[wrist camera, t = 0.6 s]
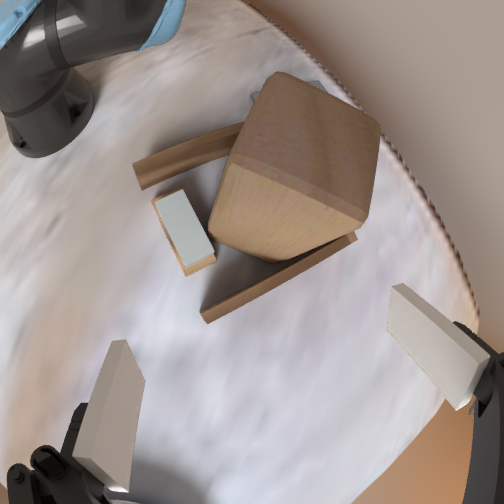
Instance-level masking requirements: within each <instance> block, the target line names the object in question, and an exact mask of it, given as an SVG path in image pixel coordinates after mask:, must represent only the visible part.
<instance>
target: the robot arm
mask: <svg viewBox="0 0 504 504" xmlns="http://www.w3.org/2000/svg"><path fill="white" fill-rule="evenodd" d="M185 5H186V0H4V1H2V2H1V3H0V110H1V112H2V113H3V115H4V118H5V122H6V126H7V130H8V134H9V138H10V140H11V142H12V144H13V146H14V147H15V148H16V149H17V150H18V151H19V152H20V153H21V154H22V155H24V156H26V157H30V158H40V157H45V156H48V155H50V154H53V153H55V152H57V151H59V150H60V149H62V148H63V147H65V146H66V145H68V144H69V143H70V142H71V141H72V140H74V139H75V138H76V137H77V136H78V134H79V133H80V132H81V131H82V130H83V128H84V127H85V126H86V124H87V122H88V121H89V119H90V117H91V114H92V111H93V108H94V96H93V93H92V90H91V87H90V84H89V83H88V81H87V80H86V79H85V78H84V77H83V76H82V75H81V74H80V73H79V72H78V71H77V70H76V69H74V68H73V67H74V66H78V65H81V64H84V63H87V62H91V61H94V60H98V59H101V58H105V57H109V56H113V55H117V54H122V53H126V52H131V51H140V50H143V49H144V48H148V47H152V46H157V45H162V44H164V43H166V42H168V41H170V40H171V39H172V38H173V37H174V36H175V34H176V33H177V31H178V29H179V26H180V24H181V21H182V17H183V14H184V9H185ZM386 330H387V331H388V333H389V334H390V335H391V336H392V337H393V338H394V339H395V340H396V341H397V342H398V344H399V345H400V346H401V347H402V348H403V349H404V350H405V351H406V353H407V354H408V355H409V356H410V357H411V358H412V359H413V360H414V362H415V363H416V364H417V365H418V366H419V367H420V368H421V370H422V371H423V372H424V373H425V374H426V375H427V377H428V378H429V379H430V380H431V381H432V382H433V384H434V385H435V386H436V387H437V388H438V389H439V391H440V392H441V393H442V394H443V395H444V397H445V398H446V399H447V400H448V401H449V403H450V404H451V405H452V406H453V407H454V409H455V410H456V411H457V410H458V409H460V408H461V407H463V406H464V405H466V404H467V403H468V402H469V400H470V399H471V397H472V395H473V394H474V395H475V396H476V397H477V398H476V399H475V401H474V403H473V405H472V407H471V408H470V410H469V414H471V412H472V411H473V409H474V428H473V442H472V451H471V459H470V466H469V473H468V479H467V484H466V489H465V494H464V499H463V503H462V504H504V352H503V353H500V354H498V353H497V352H496V351H494V350H493V349H492V348H491V347H490V346H489V345H487V344H486V343H485V342H484V341H483V340H482V339H481V338H479V337H477V335H476V334H475V333H472V331H471V330H470V329H469V328H467V327H466V326H465V325H463V324H461V323H458V322H456V321H455V322H453V323H452V322H451V321H450V320H449V319H447V318H446V317H445V316H444V315H443V314H441V313H440V312H439V311H438V310H436V309H435V308H434V307H433V306H431V305H430V304H429V303H428V302H426V301H425V300H424V299H423V298H421V297H420V296H419V295H418V294H416V293H415V292H414V291H412V290H411V289H410V288H409V287H407V286H406V285H405V284H403V283H402V284H399V285H395V286H392V287H391V296H390V306H389V314H388V322H387V329H386ZM144 386H145V379H144V377H143V375H142V373H141V371H140V369H139V367H138V365H137V363H136V360H135V358H134V356H133V354H132V352H131V350H130V347H129V345H128V343H127V341H126V340H118V341H112V343H111V345H110V348H109V350H108V353H107V355H106V357H105V360H104V363H103V365H102V368H101V370H100V373H99V376H98V378H97V381H96V384H95V386H94V389H93V392H92V395H91V397H90V400H89V403H81V404H80V405H79V406H78V407H77V409H76V410H75V411H74V413H73V416H72V419H71V423H70V425H69V428H68V429H69V430H67V433H66V436H65V439H64V443H63V446H62V449H61V452H60V453H59V452H58V451H57V450H56V449H55V448H54V447H52V446H50V445H43V446H40V447H38V448H37V449H36V450H35V451H34V452H33V454H32V455H31V459H30V463H31V467H33V468H34V469H35V470H30V469H29V468H27V467H26V466H25V465H23V464H21V463H17V464H14V465H12V466H11V467H10V468H9V470H8V473H7V488H8V497H9V504H113V503H112V502H111V500H110V499H109V498H108V496H107V495H106V494H105V493H104V492H103V489H104V485H105V486H106V487H107V488H109V489H110V490H111V491H118V492H129V485H130V476H131V467H132V459H133V452H134V445H135V438H136V432H137V425H138V419H139V413H140V407H141V402H142V396H143V391H144Z"/></svg>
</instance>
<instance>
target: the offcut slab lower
mask: <svg viewBox="0 0 504 504" xmlns="http://www.w3.org/2000/svg"><path fill="white" fill-rule="evenodd" d="M179 190H182V188H181V187H180V188H177V189H175V190H173V191H170V192H168V193H166V194H164V195H161V196H159V197H157V198H155V199H152V200H151V201H152V204H153V207H154V209H155V211H156V214H157V216H158V218H159V220H160V223H161V225H162V227H163V229H164V232H165V234H166V236H167V238H168V240H169V243H170V245H171V247H172V249H173V251H174V253H175V255H176V257H177V260H178V262H179V264H180V266H181V268H182V270H183V272H184V274H185V276H186V277H187V276H189V275H191V274H193V273H195V272H197V271H199V270H201V269H203V268H205V267H207V266H209V265H211V264H213V263H215V262H216V261H217V260H216V258H215V256H214V254H212V255H210V256H209V257H207V258H205V259H203V260H201V261H199V262H197V263H195V264H193V265H191V266H189V267H187V268H186V267H185V265H184V263H183V261H182V259H181V257H180V255H179V253H178V251H177V249H176V247H175V245H174V243H173V241H172V239H171V237H170V235H169V233H168V231H167V229H166V227H165V225H164V223H163V221H162V219H161V217H160V214H159V212H158V210H157V208H156V204H155V202H156V201H158V200H160V199H162V198H164V197H166V196H168V195H171V194H173V193H175V192H177V191H179Z"/></svg>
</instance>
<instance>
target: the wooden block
mask: <svg viewBox="0 0 504 504" xmlns="http://www.w3.org/2000/svg"><path fill="white" fill-rule="evenodd" d="M380 135H381V128H380V125H379V124H378V123H377V121H376V120H375V119H373V118H372V117H370V116H368V115H367V114H365V113H363V112H362V111H360V110H358V109H357V108H355V107H353V106H351V105H349V104H348V103H346V102H344V101H342V100H340V99H339V98H337V97H335V96H333V95H331V94H329V93H327V92H325V91H323V90H321V89H319V88H317V87H315V86H313V85H311V84H309V83H307V82H305V81H302V80H300V79H298V78H296V77H294V76H291V75H289V74H287V73H284V72H275V73H274V74H273V75H271V76H270V77H268V78H267V80H266V82H265V84H264V85H263V87H262V89H261V91H260V93H259V95H258V97H257V99H256V101H255V103H254V105H253V107H252V109H251V111H250V113H249V115H248V117H247V119H246V121H245V123H244V125H243V127H242V129H241V131H240V133H239V135H238V137H237V139H236V141H235V143H234V145H233V148H232V150H231V152H230V154H229V156H228V159H227V162H226V165H225V168H224V171H223V175H222V178H221V181H220V184H219V188H218V191H217V194H216V198H215V201H214V204H213V208H212V211H211V215H210V218H209V222H208V225H207V229H206V230H207V236H208V237H209V238H210V239H212V240H214V241H217V242H219V243H222V244H224V245H227V246H229V247H232V248H234V249H237V250H239V251H242V252H244V253H247V254H249V255H252V256H255V257H257V258H260V259H262V260H265V261H267V262H270V263H272V264H278V263H281V262H283V261H285V260H288V259H290V258H292V257H295V256H297V255H299V254H302V253H304V252H306V251H309V250H311V249H313V248H316V247H318V246H320V245H323V244H325V243H327V242H329V241H332V240H334V239H336V238H339V237H341V236H343V235H345V234H348V233H350V232H352V231H354V230H357V229H359V228H361V226H362V225H363V224H364V222H365V221H366V219H367V217H368V214H369V208H370V203H371V197H372V192H373V186H374V179H375V173H376V166H377V159H378V152H379V144H380Z"/></svg>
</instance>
